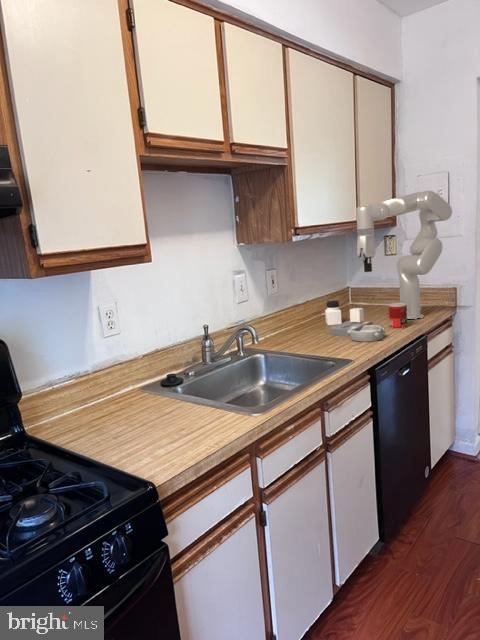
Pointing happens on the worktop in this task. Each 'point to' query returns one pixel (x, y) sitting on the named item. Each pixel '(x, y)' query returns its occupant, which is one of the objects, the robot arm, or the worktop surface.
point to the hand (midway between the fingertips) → (368, 271)
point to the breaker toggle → (356, 315)
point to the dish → (367, 333)
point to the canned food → (398, 315)
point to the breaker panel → (348, 327)
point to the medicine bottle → (333, 313)
